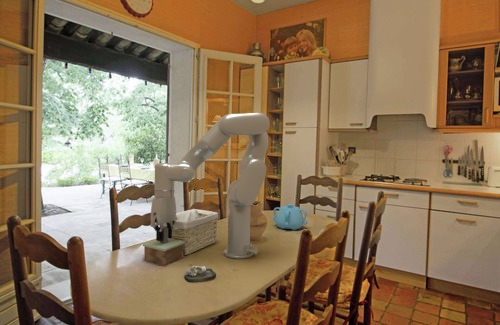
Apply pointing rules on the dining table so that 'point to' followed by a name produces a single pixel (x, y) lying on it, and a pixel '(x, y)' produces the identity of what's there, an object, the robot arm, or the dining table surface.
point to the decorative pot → (290, 217)
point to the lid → (164, 242)
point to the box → (163, 255)
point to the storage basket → (195, 229)
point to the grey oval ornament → (199, 274)
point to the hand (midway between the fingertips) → (164, 239)
